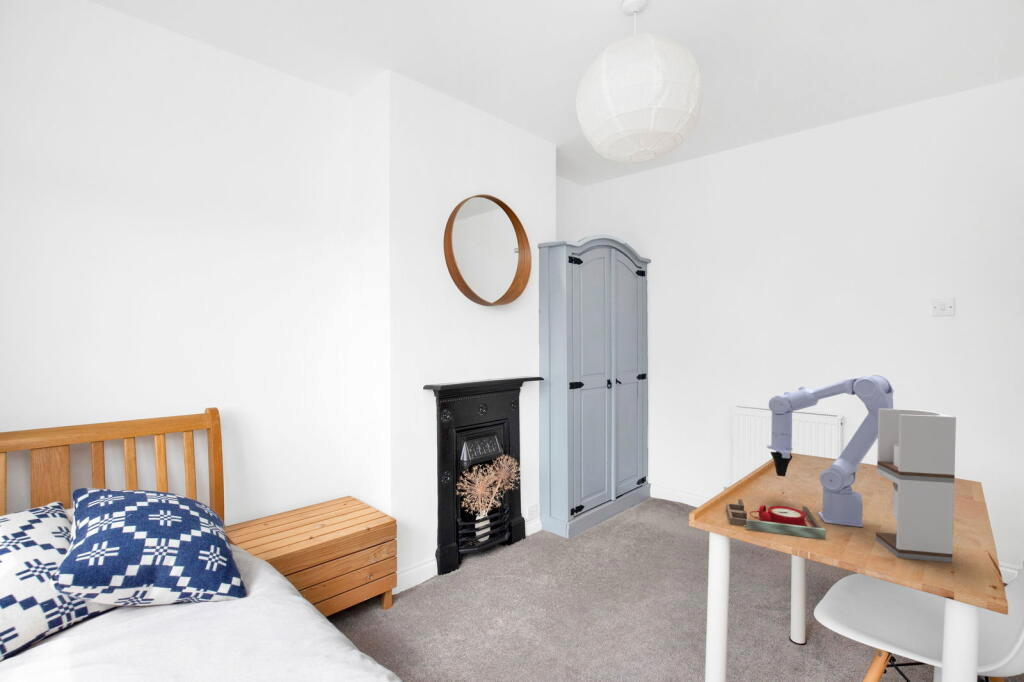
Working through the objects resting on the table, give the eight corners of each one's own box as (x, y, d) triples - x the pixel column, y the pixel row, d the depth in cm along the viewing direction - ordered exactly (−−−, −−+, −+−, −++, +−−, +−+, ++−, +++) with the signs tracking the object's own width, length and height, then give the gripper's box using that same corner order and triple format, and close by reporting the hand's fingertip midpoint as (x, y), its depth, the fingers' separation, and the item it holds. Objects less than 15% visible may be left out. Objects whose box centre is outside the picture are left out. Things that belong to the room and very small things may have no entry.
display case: (924, 544, 128) (928, 410, 127) (952, 562, 118) (956, 417, 117) (875, 539, 130) (878, 408, 130) (898, 557, 120) (901, 414, 119)
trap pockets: (740, 510, 151) (740, 504, 151) (745, 526, 139) (745, 519, 139) (726, 508, 152) (726, 503, 152) (730, 524, 140) (730, 517, 140)
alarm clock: (816, 522, 133) (757, 503, 138) (810, 544, 134) (751, 524, 138) (807, 509, 143) (752, 492, 148) (801, 529, 143) (746, 511, 148)
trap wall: (806, 512, 150) (806, 504, 150) (825, 539, 130) (825, 530, 130) (738, 504, 156) (738, 496, 156) (746, 529, 136) (746, 520, 136)
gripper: (763, 428, 164) (763, 468, 165) (772, 436, 151) (771, 480, 151) (787, 429, 162) (786, 470, 162) (798, 438, 148) (797, 483, 149)
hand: (780, 475), depth 157 cm, fingers closed
